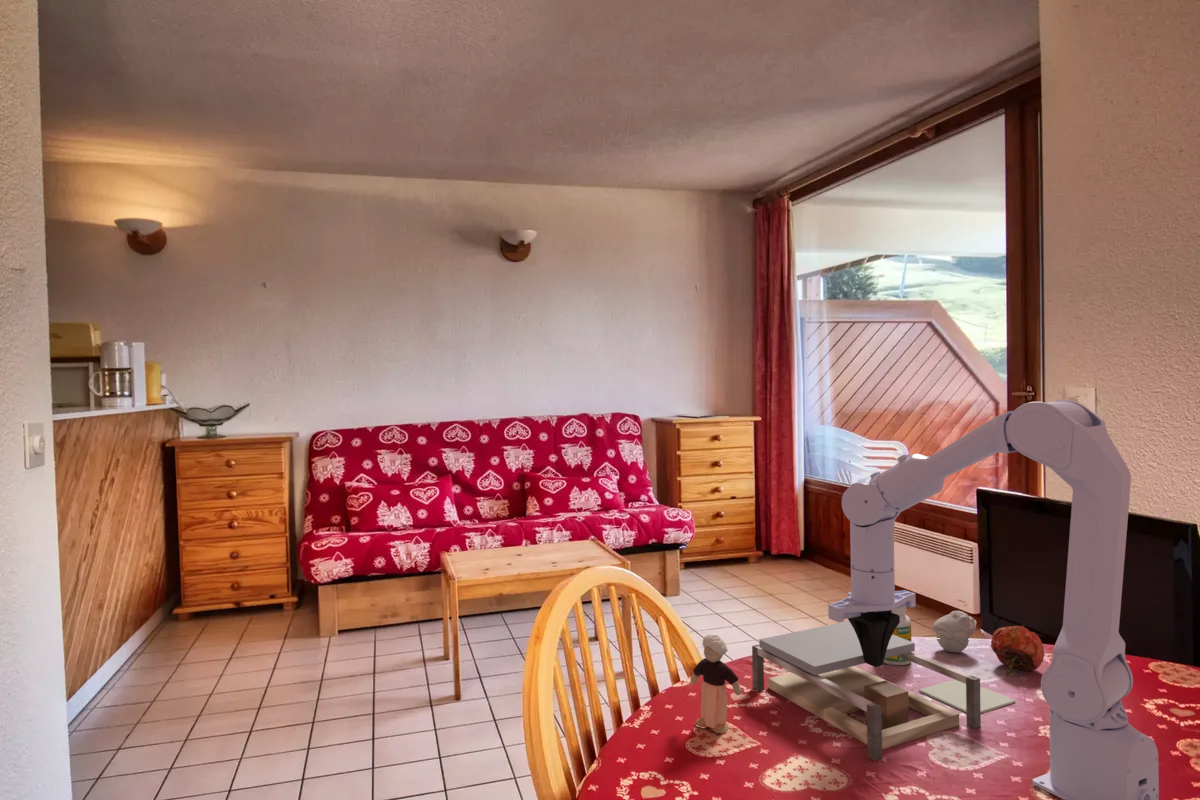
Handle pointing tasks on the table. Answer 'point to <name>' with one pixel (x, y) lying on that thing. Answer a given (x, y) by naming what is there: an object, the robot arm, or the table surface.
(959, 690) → the rubber mat
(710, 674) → the grandmother figurine
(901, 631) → the supplement bottle
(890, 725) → the walnut block
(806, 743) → the table surface
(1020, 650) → the red rounded fruit
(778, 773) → the table surface
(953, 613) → the frog figurine
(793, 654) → the sliding cover
